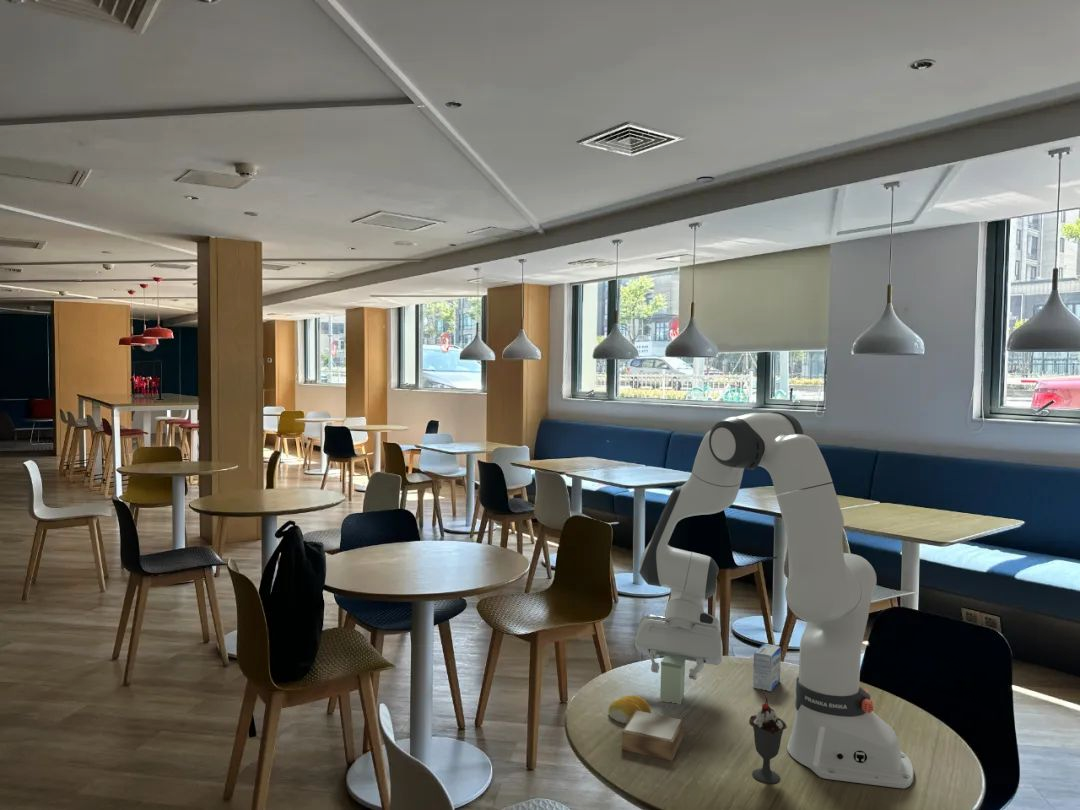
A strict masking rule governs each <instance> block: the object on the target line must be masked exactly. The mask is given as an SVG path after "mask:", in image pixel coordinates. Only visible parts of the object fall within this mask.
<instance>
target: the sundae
mask: <svg viewBox="0 0 1080 810" xmlns="http://www.w3.org/2000/svg"><path fill="white" fill-rule="evenodd" d="M762 694H763V696H764V697H765V703H764V704H762V705H761V709H760V710H759V711H758V712H757V714H755V715H751V716H750V717H749V720H748V721H749V722H748V723H749V725H750V726H751V727H752V729H753V736H754V747H755V750H756V753H757V754H758V755H759V756H760V757H761V758H762V760H763V763H762V768H761V767H760V768H756V769H754V770H753V771H752V772H751V775H752V777H753V778H754V779H755V780H756V781H757V782H760V783H764V784H767V785H770V784H771V785H772V784H777V783H778V782H780V780H781V777H780V775H779V774H778V773H777V772H776V771H774V770H771V760H772V759H773V758H775V757H776V756H777V755H778V754H779V751H780V747H781V742H782V738H783V737H782V736H783V733H784V730H786V729H787V728H788V726H787V724H786V722H785V721H784V720H783V719H782V718H779V717H778V716H777V713H776V711H774V709H772V708H771V707H770V705H769V703H768V698H767V696H766V692H764V691H763V693H762Z"/></svg>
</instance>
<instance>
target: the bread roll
mask: <svg viewBox="0 0 1080 810" xmlns="http://www.w3.org/2000/svg"><path fill="white" fill-rule="evenodd" d="M636 710H637V711H642V712H647V713H652V710H651V707H650V704H649V702H648V701H646V699H644V698H643V697H641V696H638V695H626V696H622V697H619V698H618V699H617V700H613V701H612V702H611V704H610V705H609V707H608V711H607V712H608V714H609V716H610V718H611V719H613V720H615V721H617V722H618V723H620V722H621V723H622V724H624V723H625V724H624V725H627V723H628V722H629V720H630V719H631V717H632V716H633V714H634V713H635V711H636ZM621 723H620V724H621Z"/></svg>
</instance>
